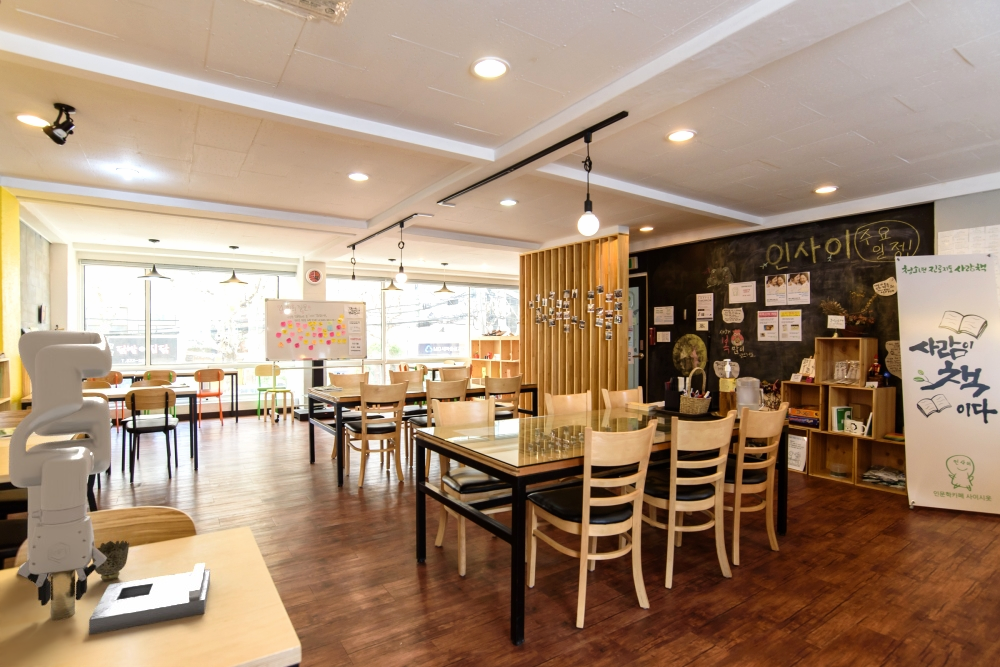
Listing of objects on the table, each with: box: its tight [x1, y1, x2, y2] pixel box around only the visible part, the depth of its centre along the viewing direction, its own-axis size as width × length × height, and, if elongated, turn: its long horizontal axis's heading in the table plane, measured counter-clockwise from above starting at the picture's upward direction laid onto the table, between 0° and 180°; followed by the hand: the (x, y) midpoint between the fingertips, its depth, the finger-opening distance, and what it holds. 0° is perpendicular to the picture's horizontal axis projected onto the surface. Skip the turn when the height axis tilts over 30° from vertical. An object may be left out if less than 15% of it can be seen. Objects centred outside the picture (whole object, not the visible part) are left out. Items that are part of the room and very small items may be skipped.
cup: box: [91, 540, 130, 582], centre depth 129 cm, size 8×7×8 cm
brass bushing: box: [49, 570, 77, 621], centre depth 112 cm, size 4×4×10 cm
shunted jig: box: [88, 562, 211, 636], centre depth 116 cm, size 16×20×5 cm
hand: (63, 598), depth 112 cm, fingers open, 5 cm apart
